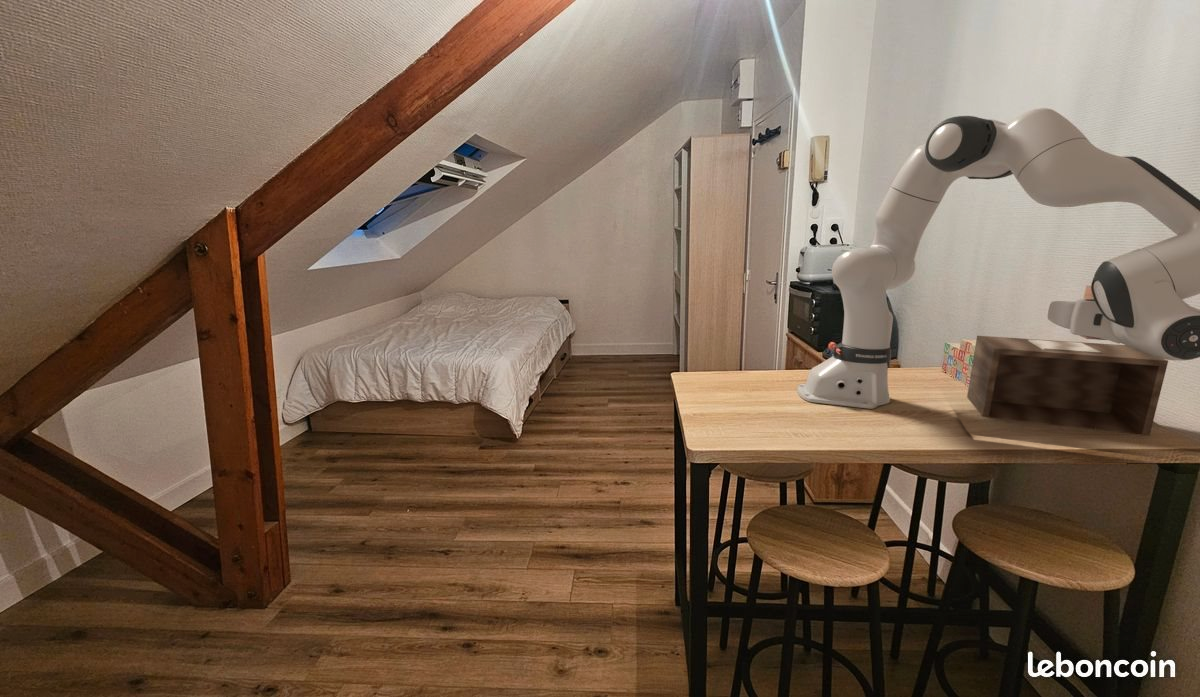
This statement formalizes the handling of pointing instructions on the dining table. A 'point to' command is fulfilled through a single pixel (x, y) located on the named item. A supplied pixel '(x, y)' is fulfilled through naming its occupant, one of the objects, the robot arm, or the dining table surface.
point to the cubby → (1066, 383)
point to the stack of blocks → (959, 359)
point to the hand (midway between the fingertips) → (1100, 309)
